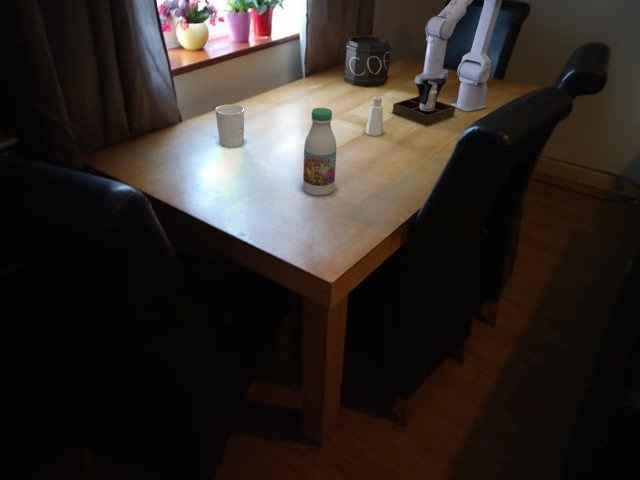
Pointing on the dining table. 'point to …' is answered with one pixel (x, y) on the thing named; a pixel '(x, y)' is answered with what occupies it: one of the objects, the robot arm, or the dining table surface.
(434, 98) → the pill bottle
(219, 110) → the white cup
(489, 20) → the robot arm
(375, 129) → the pepper shaker
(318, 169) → the milk bottle
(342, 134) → the dining table surface
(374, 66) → the coffee canister
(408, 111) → the tray
